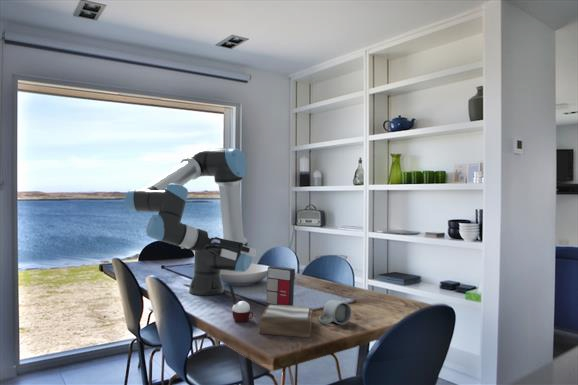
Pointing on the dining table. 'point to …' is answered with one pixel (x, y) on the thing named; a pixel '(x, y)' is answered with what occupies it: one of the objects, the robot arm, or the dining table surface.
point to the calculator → (280, 286)
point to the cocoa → (240, 309)
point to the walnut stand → (286, 320)
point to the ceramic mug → (336, 312)
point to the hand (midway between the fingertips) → (245, 255)
